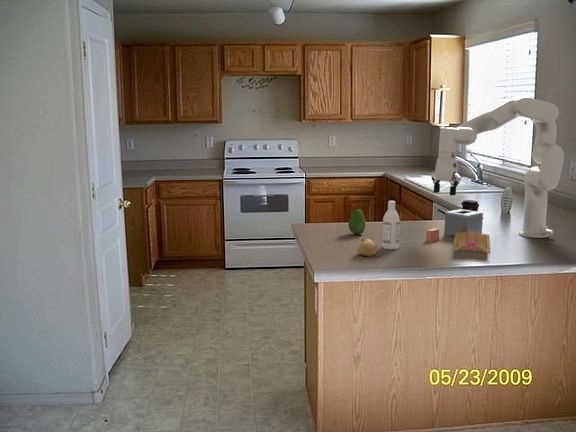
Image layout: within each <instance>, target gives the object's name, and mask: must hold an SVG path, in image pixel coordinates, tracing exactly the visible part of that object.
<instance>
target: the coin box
mask: <svg viewBox="0 0 576 432" xmlns="http://www.w3.org/2000/svg"><path fill="white" fill-rule="evenodd" d="M444 213H445V214H444V232H443V233H444V235H443V236H445V235H446V236H445V237H450V236H451V238H455V233H460V234H461V232H471V231H473V232H477V234H478V233H482V234H483V224H484V223H483V218H484V212H483V211H478V212H477V211H470V210H463V209H462V208H458V209H455V210H454V209H453V210H449V211H445V212H444ZM464 234H465V233H464ZM466 234H467V233H466ZM466 234H465V235H466ZM482 234H481V235H482ZM467 235H468V234H467Z"/></svg>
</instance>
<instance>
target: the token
mask: <svg viewBox="0 0 576 432" xmlns="http://www.w3.org/2000/svg"><path fill="white" fill-rule="evenodd" d="M425 232H426V234H425V242H428V241H429V242H428V243H433V242H436V240H437V241H439V240H440V229H439V228H431V229H426V231H425ZM432 241H433V242H432Z"/></svg>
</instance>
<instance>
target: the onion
mask: <svg viewBox="0 0 576 432" xmlns="http://www.w3.org/2000/svg"><path fill="white" fill-rule="evenodd" d="M377 250H378V247H377V245H376V242H374V241H373V240H371V239H368V238H367V237H365V238H364V237H361V238H360V242H359V243H357V246H356V251H357V252H358V254H359V255H361V256H365V257H372V256H374V255H375V254H376V253H377Z"/></svg>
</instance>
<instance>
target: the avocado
mask: <svg viewBox="0 0 576 432" xmlns="http://www.w3.org/2000/svg"><path fill="white" fill-rule="evenodd" d="M348 229H349V230H350V233H352V234H354V235H356V234H359V235H361V234H363V233H364V231H365V229H366V219H365V216H364V213H363V210H361V209H358V208H357V209H355V210H353V211H352V213H351V214H350V217H349V219H348Z"/></svg>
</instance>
